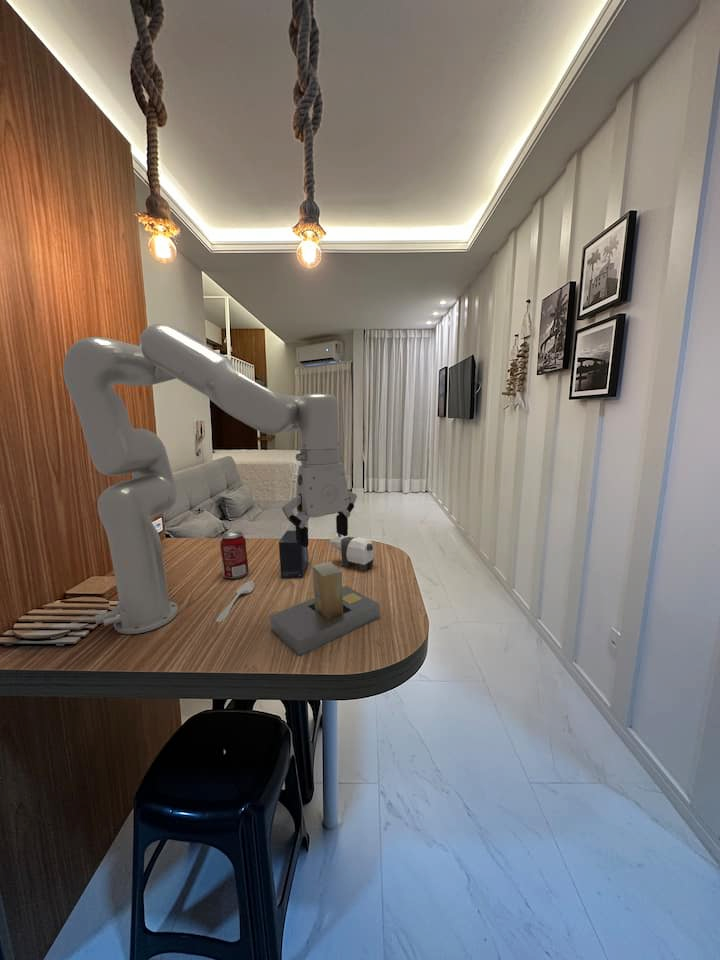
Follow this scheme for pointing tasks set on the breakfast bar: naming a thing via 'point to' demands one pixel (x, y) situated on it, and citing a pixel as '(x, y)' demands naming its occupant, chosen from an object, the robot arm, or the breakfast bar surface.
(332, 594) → the skincare box
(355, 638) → the breakfast bar surface
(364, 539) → the giant panda
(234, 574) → the soda can
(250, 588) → the spoon
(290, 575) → the small box
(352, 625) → the grey slotted base block
